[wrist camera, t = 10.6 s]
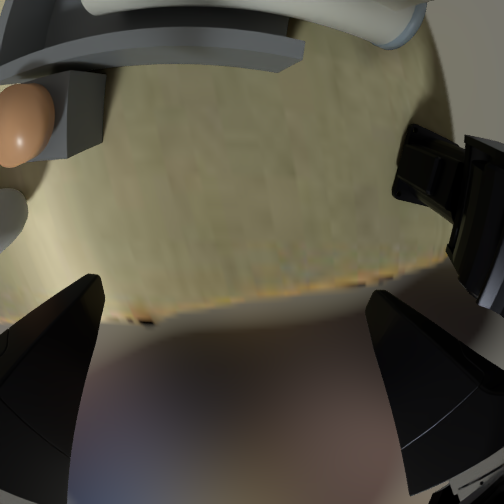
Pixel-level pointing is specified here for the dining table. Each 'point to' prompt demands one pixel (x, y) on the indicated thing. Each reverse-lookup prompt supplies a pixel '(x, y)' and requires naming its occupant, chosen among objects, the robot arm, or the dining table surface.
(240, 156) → the dining table surface
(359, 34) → the cartridge
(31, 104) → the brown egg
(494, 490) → the robot arm
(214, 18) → the housing
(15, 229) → the donut
